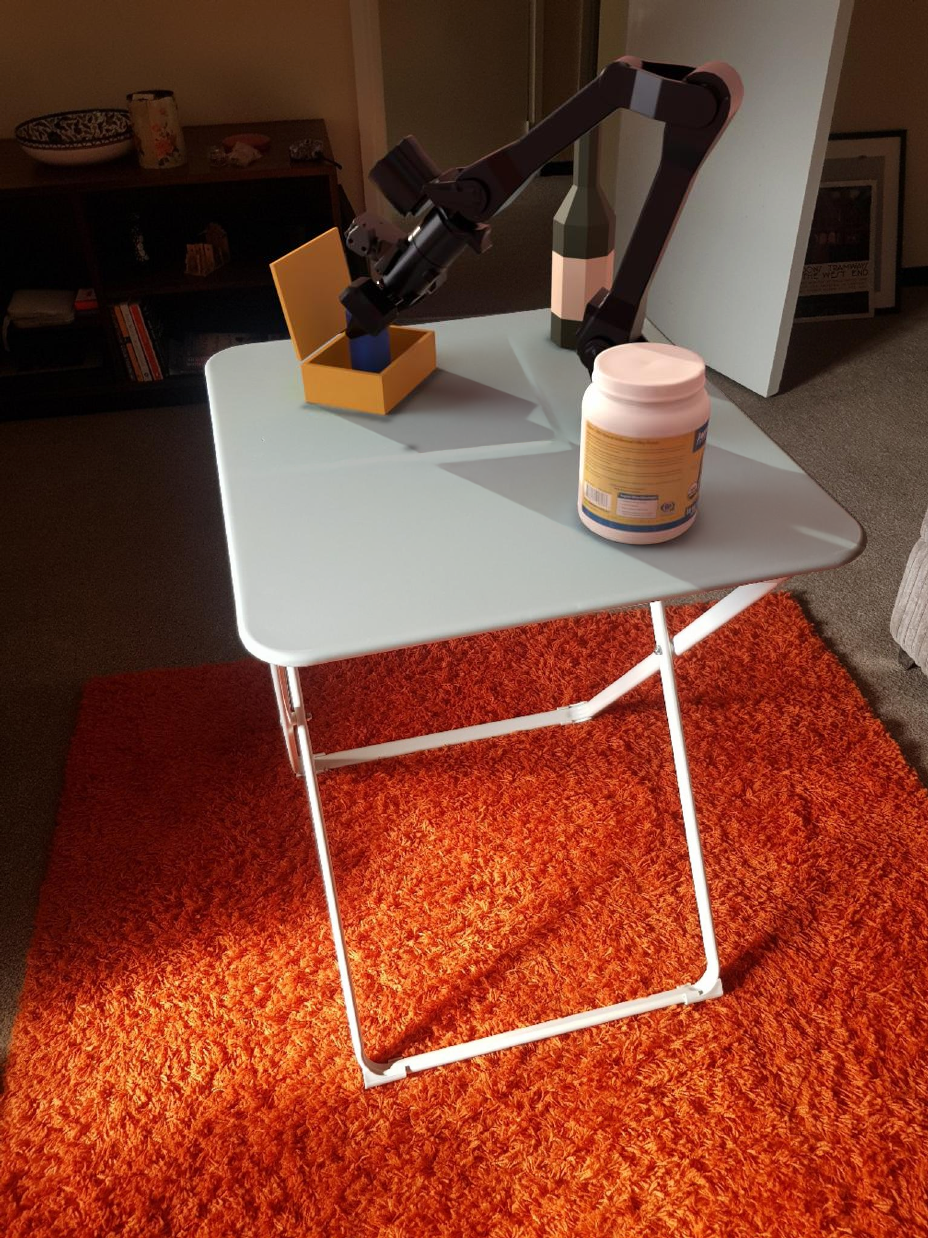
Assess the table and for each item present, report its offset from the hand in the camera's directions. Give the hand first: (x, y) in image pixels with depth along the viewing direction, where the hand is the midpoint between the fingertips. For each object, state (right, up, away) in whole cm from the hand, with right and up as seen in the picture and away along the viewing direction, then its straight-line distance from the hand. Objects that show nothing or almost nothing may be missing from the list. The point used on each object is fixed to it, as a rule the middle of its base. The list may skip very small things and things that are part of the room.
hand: (358, 328), depth 124 cm
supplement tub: (+31, -27, -23) cm, 47 cm away
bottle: (+1, -5, +3) cm, 6 cm away
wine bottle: (+30, +3, +16) cm, 34 cm away
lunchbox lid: (-5, +4, -1) cm, 6 cm away
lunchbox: (+2, -7, +4) cm, 8 cm away
